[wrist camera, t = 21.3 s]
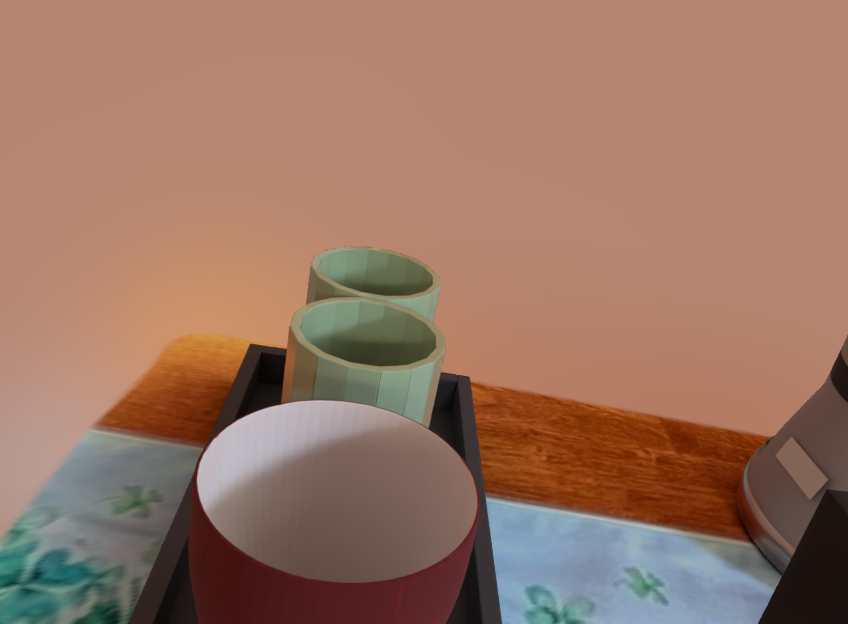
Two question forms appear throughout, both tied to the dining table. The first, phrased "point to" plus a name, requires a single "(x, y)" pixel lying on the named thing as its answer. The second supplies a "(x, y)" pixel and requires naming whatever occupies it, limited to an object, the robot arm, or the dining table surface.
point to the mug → (329, 519)
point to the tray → (262, 387)
